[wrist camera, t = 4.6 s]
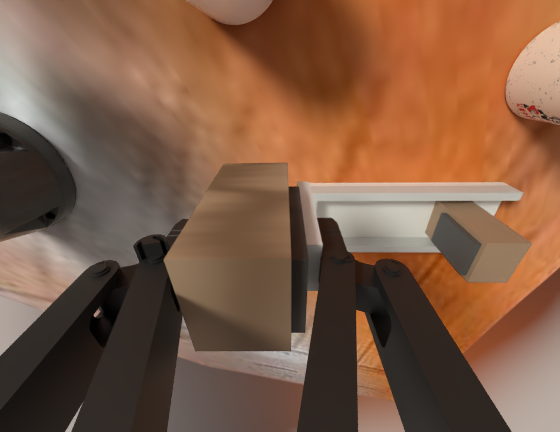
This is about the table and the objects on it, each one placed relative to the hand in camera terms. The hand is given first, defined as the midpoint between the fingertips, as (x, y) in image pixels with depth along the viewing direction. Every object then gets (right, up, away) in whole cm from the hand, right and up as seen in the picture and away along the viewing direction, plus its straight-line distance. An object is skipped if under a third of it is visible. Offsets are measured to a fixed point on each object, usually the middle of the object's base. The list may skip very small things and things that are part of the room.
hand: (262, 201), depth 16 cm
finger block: (0, 0, 0) cm, 1 cm away
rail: (+17, -1, +16) cm, 23 cm away
